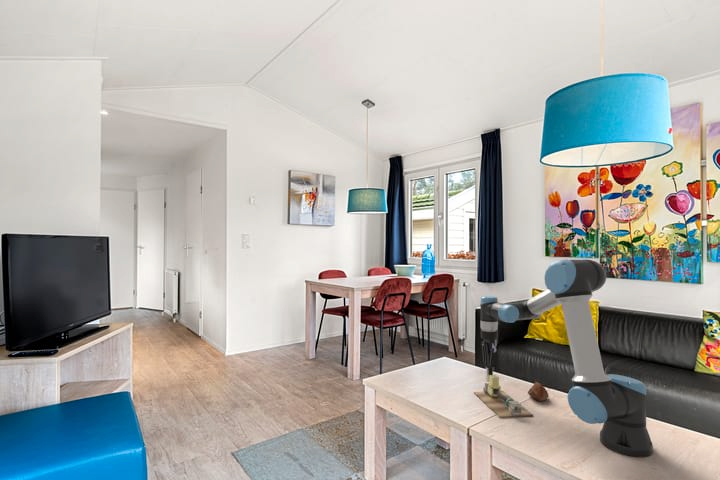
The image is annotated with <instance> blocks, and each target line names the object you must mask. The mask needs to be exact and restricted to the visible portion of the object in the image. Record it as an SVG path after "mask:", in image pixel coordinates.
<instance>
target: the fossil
mask: <svg viewBox="0 0 720 480" xmlns="http://www.w3.org/2000/svg"><path fill="white" fill-rule="evenodd" d="M531 386H532V387H530V388H529V389H528V391H527V394H528V395H529V396H530V397H532V399H535V400H536V401H540V402H544V401H545V400H547V399H548V398H550V397H549V392H548V391H547V389H546V388H545V387H544V385H543V384H542V383H540V382H537V381H535V382H534V384H533V385H531Z"/></svg>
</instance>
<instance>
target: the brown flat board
mask: <svg viewBox="0 0 720 480" xmlns="http://www.w3.org/2000/svg"><path fill="white" fill-rule="evenodd" d="M488 384H489V382H485V383H484V387H483V391H473V394H474V395H475V396H476V397H477V398H478V399H479V400H480V401H481V402H482V403H484V405H485V406H486V407H488V408H489V409H490V410H491V411H492V412H493V413H494V414H495V415H496V416H497V417H498V418H499V419H509V418H510V419H511V418H526V417H527V418H528V417H530V418H531V417H534V414H533V413H531V411H529V410H528V409H527V408H525V407H524V406H523V405H522V403H520V401H518V400H516V399H514V398H512V397H511V396H510V395H509V394H507V392H505V391H503V390H501V393H500V392H499V391H498V390H496V389H493V392H494V393H496V394H497V395H498V396H490V395H489V394H488Z"/></svg>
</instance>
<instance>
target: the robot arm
mask: <svg viewBox="0 0 720 480" xmlns="http://www.w3.org/2000/svg"><path fill="white" fill-rule="evenodd" d="M543 278H544V284H545V287H546V290H543V291H541V292H539V293H538V294H536V295H534V296H533V297H530V299H528V300H526V301H523V302H513V303H512V302H511V303H501V302H499V301H498V300H499V299H498V297H497V296H495V295H493V296H492V295H484V296H481V297H480V305H479V307H480V338H481V339H482V340H483V341H481V342H480V345H481V352H482V362H483V364H484V366H485V382H486V383H489V375H494V372H493V371H494V369H493V368H496V365H497V364H496V363H497V357H498V356H497V355H498V351H499V349H498V348H497V347H496V343H495V341H496V340H498V337H499V335H498V334H499V333H498V325H499V321H501V322H505V323H509V324H510V323H515V322H516V321H523V320H535V319H538V318H540V317H541V315H542V314H543V313H545V312H547V311H549V310H551V309H554V308H556V307H558V306H560V305H561V309H562V314H563V320H564V324H565V329H566V334H567V339H568V344H569V349H570V355H571V357H572V358H571V359H572V363H573V369H574V375H573V377H572V378H571V383H572V387H571V388H570V389H569V392H568V393H567V402H568V405H569V408H570V409H571V411H572V412H573V414H574V415H576V417H577V418H578V419H579V420H581V421H582V422H584V423H586V424H589V425H595V424H600V425H601V424H602V427H601V430H600V432H599V442H600V443H601V444H602V445H603V446H604V447H606V448H607V449H609V450H611V451H614V452H616V453H619V454H621V455H625V456H631V457H636V458H637V457H639V458H641V457H643V458H644V457H649V456H651V455H652V454H653V453H654V445H653V441H652V440H651V437H650V433H649V431H648V429H647V395H648V394H647V390H646V389H647V388H646V385H645V383H643V382H642V381H640V380H638V379H635V378H632V377H629V376H624V375H619V374H614V373H610V374H609V373H608V374H606V373H605V370H604V366H603V361H602V356H601V352H600V348H599V343H598V338H597V333H596V329H595V323H594V320H593V315H592V311H591V306H590V300H591V298H592V297H593V293H594V292H596V291H599V290H600V289H601V288H603V286H604V285H605V284H606V281H607V272H606V270H605V268H604V267H603V265H602V264H601V263H599V262H598V261H595V260H592V259H568V258H567V259H562V260H561V259H560V260H555V261H553V262H551V263H550V264H549V265H548V267H547V268H546V269H545V272H544V277H543Z"/></svg>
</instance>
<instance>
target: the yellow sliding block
mask: <svg viewBox="0 0 720 480" xmlns="http://www.w3.org/2000/svg"><path fill="white" fill-rule="evenodd" d="M499 380H500V377H499V376H498V375H497V374H493V375H489V382H488V383H489V384H488V383H487V384H488V394H489V395H490V396H498V395H497V394H496V393H494V392H493V389H496V390H498V391H499V392H500V393H501V391H502V390H501V387H502V386H500V385H499V384H500V382H499Z"/></svg>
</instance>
